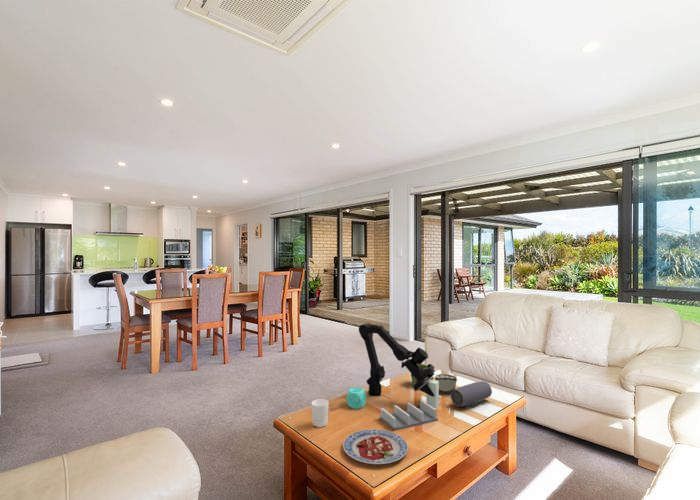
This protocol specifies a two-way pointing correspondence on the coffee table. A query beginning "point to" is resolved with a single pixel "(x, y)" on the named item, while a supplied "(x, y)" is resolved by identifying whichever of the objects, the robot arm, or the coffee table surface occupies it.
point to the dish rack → (409, 416)
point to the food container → (446, 383)
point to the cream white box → (435, 389)
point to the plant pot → (413, 376)
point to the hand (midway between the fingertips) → (435, 394)
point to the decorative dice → (356, 398)
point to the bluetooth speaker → (471, 394)
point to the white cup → (320, 412)
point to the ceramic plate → (375, 446)
